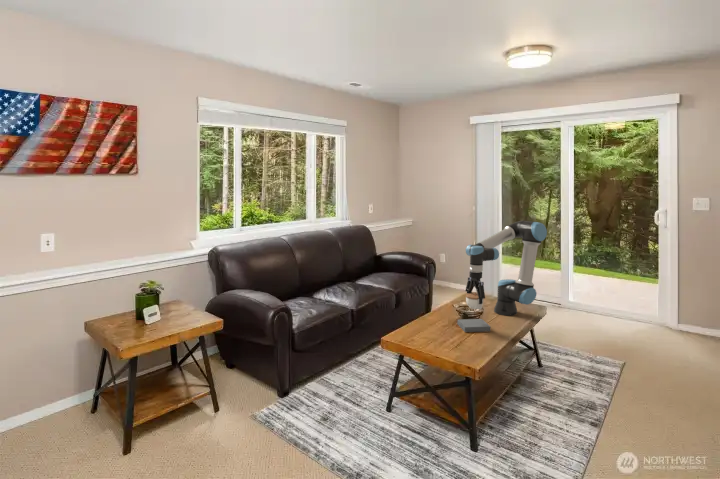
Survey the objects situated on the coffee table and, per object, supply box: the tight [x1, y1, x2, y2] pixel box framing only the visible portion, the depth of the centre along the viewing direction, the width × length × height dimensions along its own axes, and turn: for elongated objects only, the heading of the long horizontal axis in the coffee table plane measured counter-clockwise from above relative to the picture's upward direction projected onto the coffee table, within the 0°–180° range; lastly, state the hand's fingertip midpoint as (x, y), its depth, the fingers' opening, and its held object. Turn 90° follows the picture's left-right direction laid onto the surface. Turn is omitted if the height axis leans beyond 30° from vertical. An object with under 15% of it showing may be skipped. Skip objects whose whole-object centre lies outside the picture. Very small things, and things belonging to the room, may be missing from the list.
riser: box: [457, 318, 491, 333], centre depth 259 cm, size 16×14×3 cm
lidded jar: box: [465, 292, 485, 310], centre depth 256 cm, size 11×11×9 cm
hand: (474, 306), depth 257 cm, fingers closed on lidded jar, 11 cm apart
